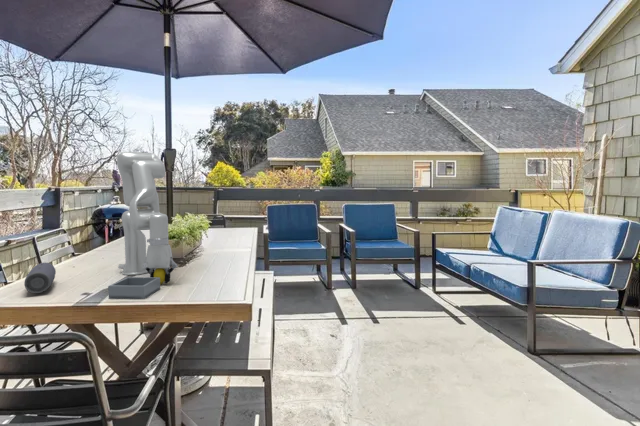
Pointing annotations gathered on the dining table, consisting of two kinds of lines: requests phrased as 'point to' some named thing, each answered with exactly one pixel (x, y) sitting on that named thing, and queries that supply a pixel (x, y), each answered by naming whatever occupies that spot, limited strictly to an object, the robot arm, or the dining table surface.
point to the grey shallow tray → (134, 288)
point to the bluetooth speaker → (40, 278)
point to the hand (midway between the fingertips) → (160, 282)
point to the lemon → (160, 274)
